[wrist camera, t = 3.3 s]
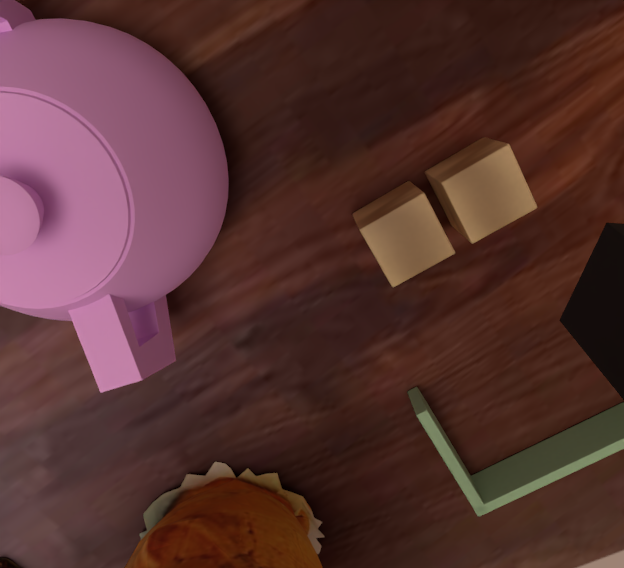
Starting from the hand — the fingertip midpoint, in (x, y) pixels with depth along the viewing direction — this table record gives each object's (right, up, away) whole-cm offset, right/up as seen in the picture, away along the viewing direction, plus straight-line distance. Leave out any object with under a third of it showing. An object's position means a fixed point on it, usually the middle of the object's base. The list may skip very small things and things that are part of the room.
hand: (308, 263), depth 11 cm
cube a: (+10, +6, +22) cm, 24 cm away
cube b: (+5, +3, +22) cm, 23 cm away
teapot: (-12, +6, +21) cm, 25 cm away
